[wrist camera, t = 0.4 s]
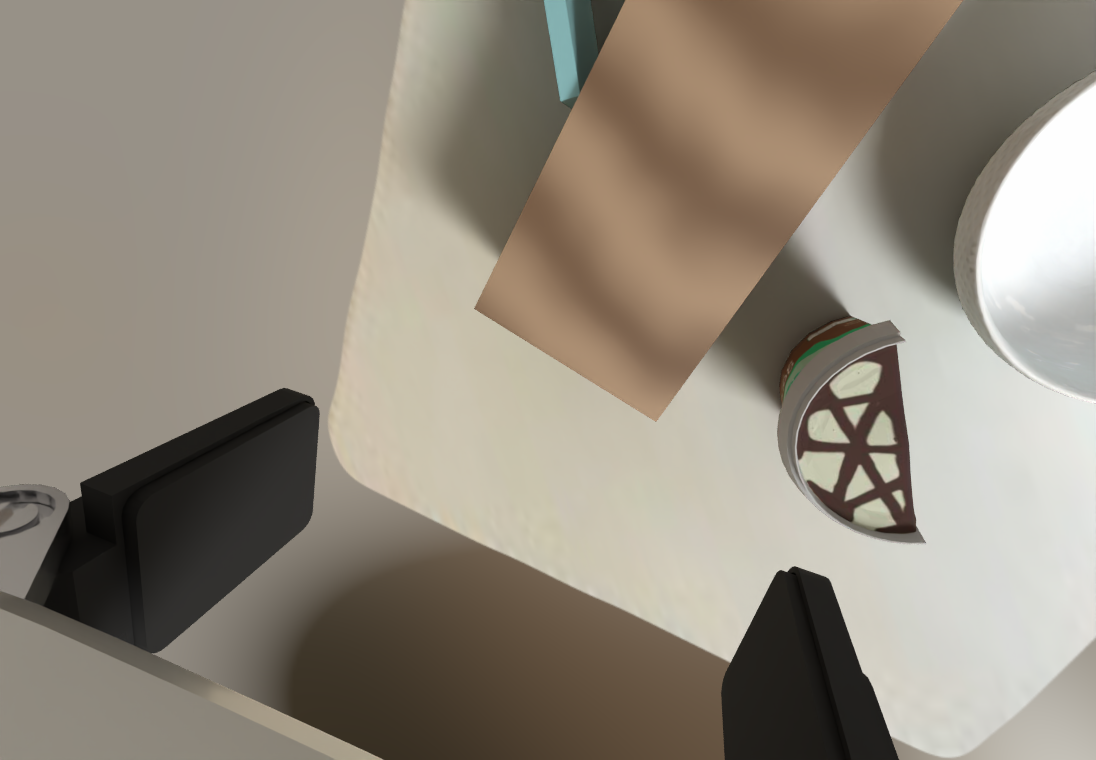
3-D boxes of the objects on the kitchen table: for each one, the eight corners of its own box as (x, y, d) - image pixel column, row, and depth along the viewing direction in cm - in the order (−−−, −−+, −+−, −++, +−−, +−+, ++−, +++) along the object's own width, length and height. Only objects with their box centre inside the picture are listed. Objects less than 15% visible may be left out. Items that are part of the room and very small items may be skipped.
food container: (747, 314, 36) (765, 355, 27) (847, 293, 34) (904, 329, 25) (775, 475, 39) (800, 560, 30) (869, 464, 37) (927, 552, 28)
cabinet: (720, -90, 29) (732, -218, 20) (910, 17, 29) (1010, -65, 20) (525, 282, 39) (474, 308, 30) (665, 368, 39) (655, 421, 29)
